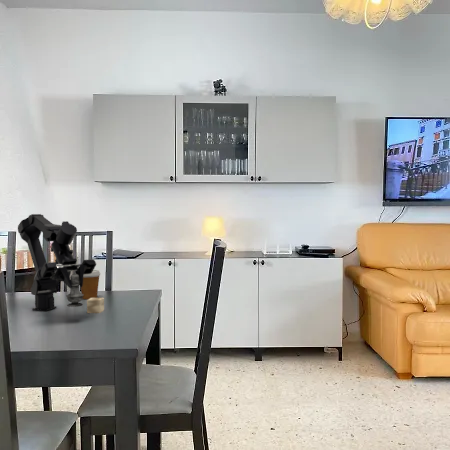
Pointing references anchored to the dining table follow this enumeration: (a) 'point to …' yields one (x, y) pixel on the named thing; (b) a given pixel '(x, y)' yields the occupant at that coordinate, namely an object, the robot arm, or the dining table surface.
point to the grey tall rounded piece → (74, 292)
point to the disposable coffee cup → (90, 285)
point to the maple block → (95, 305)
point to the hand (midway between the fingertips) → (76, 287)
